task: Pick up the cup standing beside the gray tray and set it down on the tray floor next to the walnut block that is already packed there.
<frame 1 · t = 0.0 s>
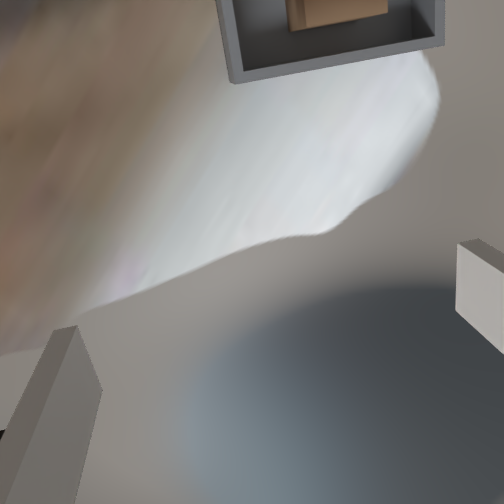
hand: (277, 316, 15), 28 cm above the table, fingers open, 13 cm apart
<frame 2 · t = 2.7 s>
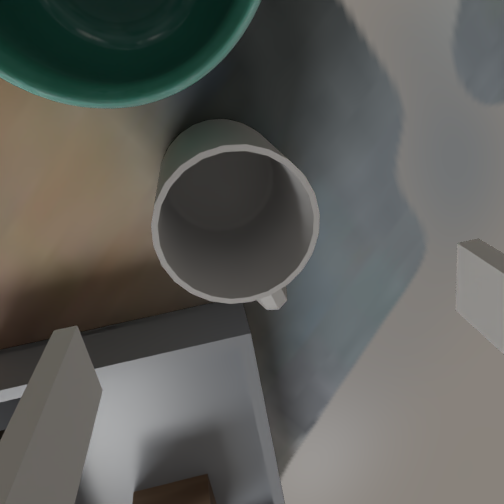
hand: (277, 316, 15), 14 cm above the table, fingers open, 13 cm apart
gray tray: (161, 450, 35), on the table
cup: (229, 197, 28), on the table
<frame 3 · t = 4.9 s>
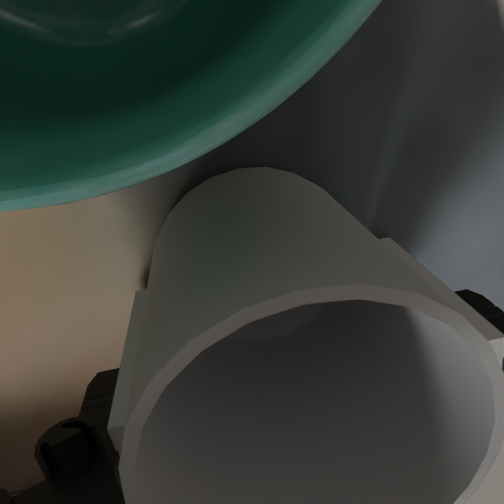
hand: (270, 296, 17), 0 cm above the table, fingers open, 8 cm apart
cup: (266, 288, 17), on the table, touching gripper
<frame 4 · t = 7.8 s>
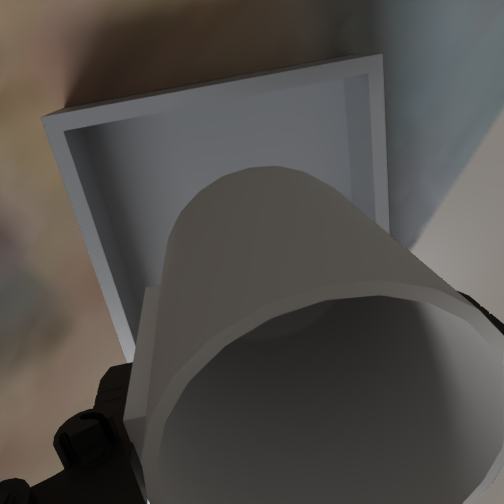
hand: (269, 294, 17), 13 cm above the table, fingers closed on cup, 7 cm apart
gray tray: (245, 263, 31), on the table
cup: (276, 286, 17), point 13 cm above the table, touching gripper
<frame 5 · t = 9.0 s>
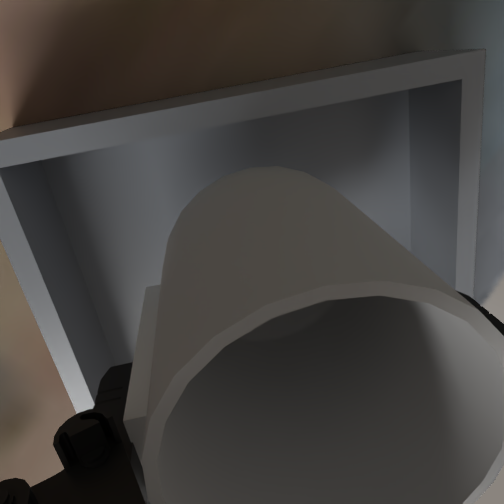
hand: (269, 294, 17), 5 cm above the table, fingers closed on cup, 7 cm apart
gray tray: (265, 329, 23), on the table
cup: (276, 286, 17), point 4 cm above the table, touching gripper
when the fingers open (3 cm above the table, at t = 10.2 s): cup drops 2 cm, resting on gray tray.
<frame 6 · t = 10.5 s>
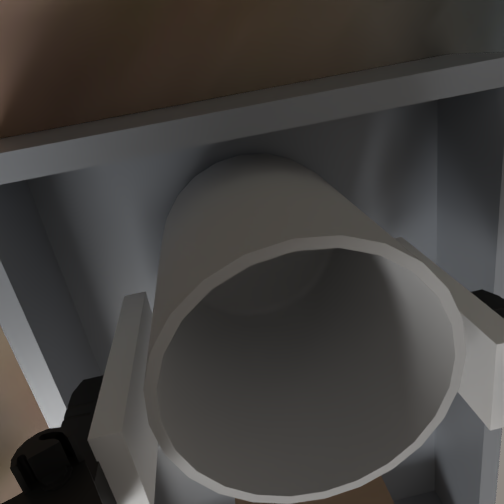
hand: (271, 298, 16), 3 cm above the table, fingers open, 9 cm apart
gray tray: (275, 358, 21), on the table
cup: (266, 266, 19), resting on gray tray
walnut block: (294, 458, 23), point 1 cm above the table, touching gray tray
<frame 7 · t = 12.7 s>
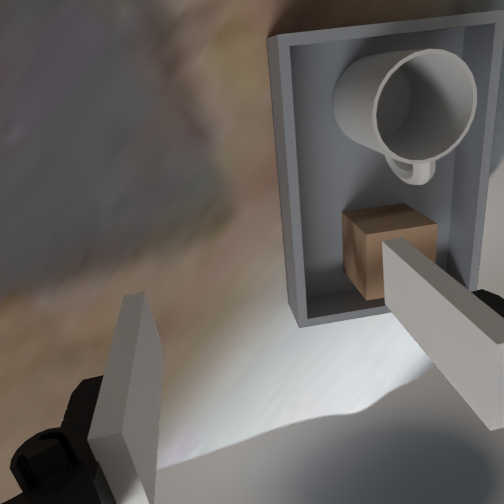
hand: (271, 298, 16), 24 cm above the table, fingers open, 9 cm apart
gray tray: (370, 174, 40), on the table
cup: (375, 116, 38), resting on gray tray
walnut block: (372, 237, 42), point 1 cm above the table, touching gray tray
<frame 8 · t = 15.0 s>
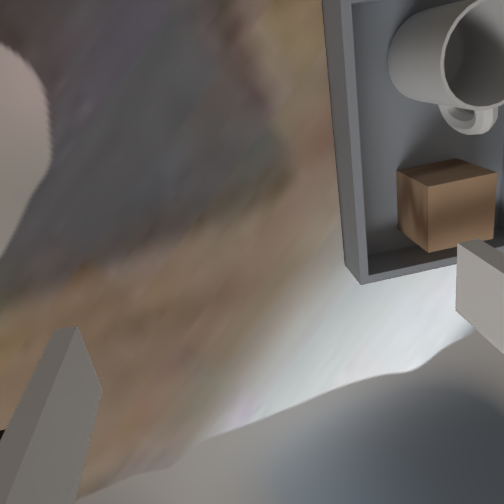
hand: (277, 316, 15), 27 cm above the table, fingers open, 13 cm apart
gray tray: (423, 131, 41), on the table
cup: (427, 72, 39), resting on gray tray
walnut block: (426, 194, 43), point 1 cm above the table, touching gray tray
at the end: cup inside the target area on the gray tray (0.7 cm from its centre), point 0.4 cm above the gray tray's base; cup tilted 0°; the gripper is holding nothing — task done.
